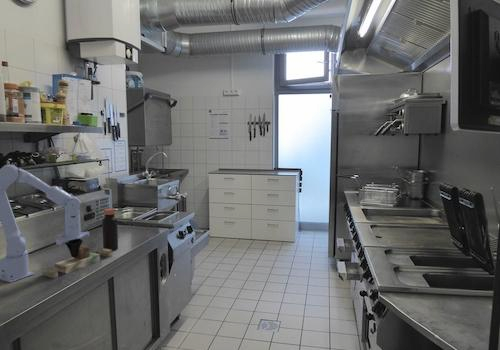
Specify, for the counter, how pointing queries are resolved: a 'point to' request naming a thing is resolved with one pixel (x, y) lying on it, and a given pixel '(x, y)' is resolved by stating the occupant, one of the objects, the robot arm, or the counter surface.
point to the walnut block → (83, 252)
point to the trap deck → (76, 263)
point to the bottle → (110, 230)
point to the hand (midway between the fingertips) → (74, 256)
